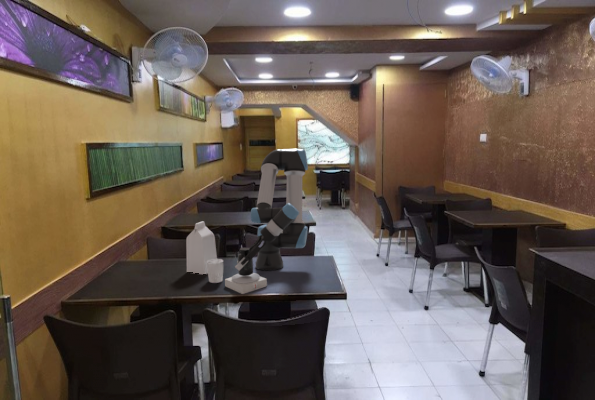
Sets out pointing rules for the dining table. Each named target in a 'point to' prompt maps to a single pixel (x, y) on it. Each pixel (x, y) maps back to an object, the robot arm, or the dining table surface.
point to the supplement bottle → (248, 267)
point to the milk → (200, 248)
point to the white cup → (215, 270)
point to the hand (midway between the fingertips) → (237, 266)
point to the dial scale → (245, 283)
